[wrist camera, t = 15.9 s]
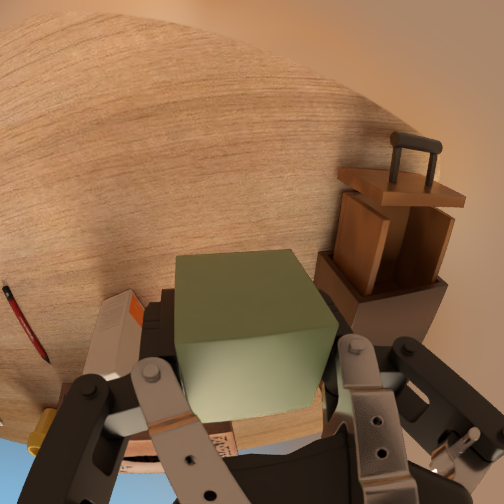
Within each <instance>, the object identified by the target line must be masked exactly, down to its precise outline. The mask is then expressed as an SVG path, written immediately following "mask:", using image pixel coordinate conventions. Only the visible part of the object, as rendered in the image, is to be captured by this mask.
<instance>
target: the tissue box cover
mask: <svg viewBox="0 0 504 504" xmlns="http://www.w3.org/2000/svg"><path fill="white" fill-rule="evenodd" d="M72 384H73V383H63V385H62V389H61V393H60V397H59V402H58V406H57V411H56V414H57V412H58V410H59V408H60V406H61V404H62V402H63V400H64V398H65V396H66V395H67V393H68V391H69V389H70V387H71V385H72ZM185 397H186V396H185ZM202 424H203V426H204V428H205V430H206V431H207V433H208V435H209V437H210V439H211V440H212V442H213V444H214V446H215V447H216V449H217V451H218V453H219V454H220V456H221V457H230V456H238V450H237V446H236V441H235V437H234V432H233V427H232V422H231V421H222V422H211V423H202ZM119 473H140V474H142V473H144V474H147V473H150V474H151V473H165V471H164V469H163V467H162V465H161V462H160V460H159V458H158V455H157V453H156V451H155V448H154V446H153V443H152V441H151V438H150V436H149V433H148V430H145V431H142V432H139V433H136V434H132V435H131V437H130V440H129V443H128V446H127V449H126V451H125V454H124V457H123V460H122V463H121V466H120V469H119Z"/></svg>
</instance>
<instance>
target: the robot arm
mask: <svg viewBox="0 0 504 504" xmlns="http://www.w3.org/2000/svg"><path fill="white" fill-rule="evenodd" d="M317 290H318V291H319V293H320V294H321V296H322V298H323V299H324V301H325V302H326V304H327V306H328V307H329V309H330V310H331V312H332V313H333V315H334V317H335V318H336V320H337V321H338V323H339V326H338V330H337V333H336V336H335V339H334V342H333V345H332V348H331V351H330V354H329V357H328V360H327V363H326V366H325V369H324V372H323V375H322V380H323V382H324V383H323V385H322V409H323V432H322V436H321V439H319V440H316V441H314V442H312V443H310V444H308V445H306V446H304V447H302V448H300V449H298V450H296V451H294V452H292V453H290V454H287V455H267V454H246V455H238V456H230V457H221V456H220V454H219V453H218V451H217V449H216V447H215V446H214V444H213V442H212V440H211V439H210V437H209V435H208V433H207V431H206V430H205V428H204V426H203V424H202V422H201V421H200V419H199V417H198V416H197V415H196V414H194V412H193V411H192V409H191V407H190V405H189V403H188V401H187V399H186V397H185V396H186V395H185V391H184V387H183V382H182V378H181V373H180V368H179V363H178V358H177V353H176V348H175V343H174V307H175V289H162V294H161V302H150V303H149V305H148V306H147V308H146V309H145V310H144V315H143V323H142V331H141V340H140V350H139V359H138V362H137V363H136V364H135V365H134V366H133V368H132V370H131V372H130V373H129V374H127V375H125V376H123V377H120V378H116V379H113V380H109V381H106V380H105V378H103V377H102V376H100V375H98V374H93V373H90V374H84V375H82V376H80V377H78V378H77V379H76V380H75V381H74V382H73V384H72V385H71V387H70V389H69V391H68V393H67V395H66V396H65V398H64V400H63V402H62V404H61V406H60V408H59V410H58V412H57V414H56V416H55V417H54V419H53V421H52V423H51V425H50V428H49V430H48V432H47V434H46V436H45V438H44V440H43V442H42V444H41V446H40V449H39V451H38V453H37V455H36V457H35V460H34V462H33V464H32V467H31V469H30V471H29V474H28V476H27V478H26V481H25V483H24V486H23V489H22V491H21V494H20V497H19V499H18V502H17V504H109V501H110V498H111V495H112V491H113V488H114V485H115V482H116V479H117V476H118V473H119V469H120V466H121V463H122V460H123V457H124V454H125V451H126V449H127V446H128V443H129V440H130V437H131V435H132V434H136V433H139V432H142V431H145V430H148V433H149V436H150V438H151V441H152V443H153V446H154V448H155V451H156V453H157V455H158V458H159V460H160V462H161V465H162V467H163V469H164V471H165V474H166V476H167V478H168V480H169V482H170V484H171V486H172V488H173V490H174V492H175V494H176V496H177V499H176V500H175V501H174V503H173V504H473V500H472V497H471V493H472V492H473V491H474V489H475V488H476V487H477V485H478V484H479V482H480V481H481V480H482V478H483V477H484V475H485V474H486V472H487V471H488V469H489V468H490V466H491V465H492V464H493V463H494V462H495V461H497V460H498V459H499V458H500V457H502V456H503V455H504V415H503V414H502V413H501V412H500V411H498V410H497V409H496V408H495V407H494V406H493V405H492V404H491V403H490V402H489V401H487V400H486V399H485V398H484V397H483V396H482V395H481V394H479V393H478V392H477V391H476V390H475V389H474V388H473V387H472V386H470V385H469V384H468V383H467V382H466V381H465V380H464V379H462V378H461V377H460V376H459V375H458V374H457V373H455V372H454V371H453V370H452V369H451V368H450V367H449V366H447V365H446V364H445V363H444V362H443V361H441V360H440V359H439V358H438V357H437V356H435V355H434V354H433V353H432V352H431V351H429V350H428V349H427V348H426V347H425V346H424V345H422V344H421V343H420V342H419V341H417V340H416V339H414V338H412V337H408V336H402V337H398V338H397V339H395V341H394V342H393V345H392V346H375V345H373V344H372V343H371V342H370V340H368V339H367V338H366V337H364V336H362V335H359V334H354V332H353V331H352V329H351V328H350V326H349V324H348V323H347V321H346V320H345V318H344V317H343V315H342V314H341V312H339V309H338V308H337V306H336V305H335V303H334V302H333V300H332V299H331V297H330V296H329V295H328V294H327V293H325V292H324V291H323V290H321V289H317ZM409 380H410V381H411V382H412V383H413V384H414V385H415V386H417V388H419V389H420V390H421V391H422V392H423V393H424V394H425V395H426V396H427V397H428V399H429V402H430V404H427V403H426V402H424V401H423V400H422V399H421V398H420V397H419V396H418V395H417V394H416V393H415V392H414V391H413V390H412V389H411V388H410V387H409V386H407V383H408V382H409ZM401 427H403V429H404V430H405V431H406V432H407V433H408V434H409V435H410V436H411V437H412V438H413V439H414V440H415V441H416V442H417V443H419V445H420V446H421V447H422V448H423V449H424V450H425V451H426V452H427V453H428V454H429V455H430V456H431V460H432V462H431V463H430V470H431V471H430V470H428V469H425V468H423V467H421V466H419V465H417V464H415V463H413V462H411V461H409V460H407V455H406V449H405V444H404V438H403V433H402V428H401ZM435 472H438V474H437V473H435Z"/></svg>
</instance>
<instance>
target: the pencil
mask: <svg viewBox="0 0 504 504" xmlns="http://www.w3.org/2000/svg"><path fill="white" fill-rule="evenodd" d="M2 290H3V292H4V294H5V296H6V298H7V300H8V302H9V304H10V305H11V307H12V309H13V311H14V313H15V315H16V316H17V318H18V320H19V322H20V323H21V325H22V327H23V328H24V330H25V332H26V333H27V335H28V337H29V338H30V340H31V341H32V343H33V345H34V346H35V348H36V349H37V351H38V352H39V354H40V355H41V357H42V358H43V359H44V360H46V361H47V362H48V363H49V364H50V362H49V359H48V356H47V354H46V352H45V351H44V349H43V348H42V346H41V345H40V343H39V341H38V340H37V338H36V337H35V335H34V333H33V332H32V330H31V328H30V327H29V325H28V323H27V321H26V320H25V318H24V316H23V314H22V312H21V311H20V309H19V307H18V305H17V303H16V301H15V299H14V297H13V295H12V293H11V291H10V289H9V287H8V286H4V287H3V288H2Z"/></svg>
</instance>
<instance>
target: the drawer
mask: <svg viewBox="0 0 504 504" xmlns="http://www.w3.org/2000/svg"><path fill="white" fill-rule="evenodd" d="M390 142H391V144H392V146H394V147H393V153H392V161H391V168H390V171H384V170H371V169H357V168H339V169H338V177H337V179H339V180H340V181H342V182H344V183H345V184H347V185H349V186H350V187H352V188H354V189H355V190H357V191H359V192H360V193H355V192H343V197H342V204H341V211H340V218H339V224H338V231H337V237H336V243H335V248H334V254H333V260H332V261H333V262H334V264H335V265H336V266H337V267H338V268H339V270H340V271H341V272H342V273H343V274H344V276H345V277H346V278H347V279H348V280H349V282H350V283H351V284H352V285H353V287H354V288H355V289H356V290H357V292H358V293H359V294H360V295H361V297H366V296H372V295H378V294H383V293H389V292H394V291H399V290H404V289H409V288H414V287H419V286H424V285H429V284H433V283H435V281H436V278H437V275H438V273H439V269H440V267H441V264H442V261H443V258H444V255H445V252H446V249H447V246H448V243H449V239H450V236H451V232H452V229H453V225H454V222H455V219H454V218H453V217H451V216H450V215H448V214H446V213H445V212H443V211H441V210H440V209H438V208H436V207H460V208H463V207H464V204H465V199H466V196H464V195H461V194H460V193H458V192H456V191H454V190H452V189H450V188H448V187H446V186H443V185H442V184H440V183H438V182H436V181H433V179H434V173H435V168H436V161H437V154H440V153H441V152H442V148H443V147H442V144H441V142H440V141H437V140H434V139H429V138H425V137H421V136H416V135H412V134H407V133H402V132H397V131H394V132H392V133H391V136H390ZM402 148H406V149H412V150H417V151H423V152H428V153H430V157H429V164H428V170H427V175H426V177H425V176H422V175H420V174H414V173H405V172H398V171H399V164H400V157H401V150H402Z"/></svg>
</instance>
